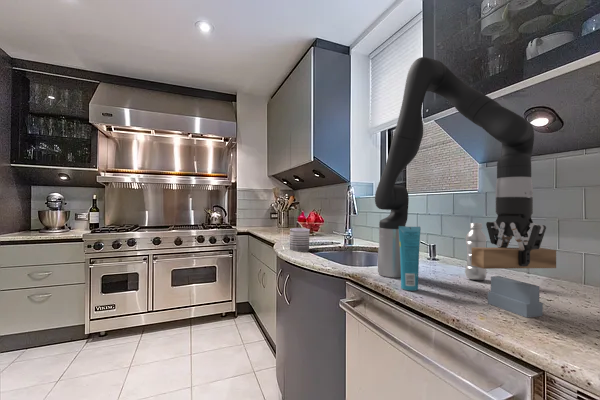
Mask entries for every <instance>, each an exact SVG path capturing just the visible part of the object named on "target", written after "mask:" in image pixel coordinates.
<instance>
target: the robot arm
mask: <svg viewBox="0 0 600 400" xmlns="http://www.w3.org/2000/svg"><path fill="white" fill-rule="evenodd" d="M427 92H431V93H433V94H435V95H438V96H441V97H443V98H445V99H446V100H448V102H449V103H450V104H451V105H453V107H454V108H455V109H456V111H457V112H459V113H460V114H461V115H462V116H463V117H465V118H466V119H468V120H469V121H470V122H472V123H473V124H475V125H476V126H478V127H480V128H481V129H483V130H484V131H485V132H486V133H488V134H489V135H490V136H491V137H493V138H494V139H496V140H497V141H498V142H499V143H501V156H500V157H498V159H497V163H496V182H495V214H496V216H497V218H496V219H495V221H487V222H486V223H485V224H486V225H485V226H486V229H487V232H488V236H489V240H490V243H491V245H494V246H497V248H509V246H510V245H509V244H510V241H511V240H512V239H513V237H514V239H515V241H516V242H517V245H518V248H519V249H520V250H521V251H519V266H528V264H530V251H531V250H534V249H539V248H541V246H542V245H541V244H542V242H543V239H544V235H545V233H546V230H547V226H546V225H544V224H538V223H535V222H534V221H533V219H532V215H533V213H534V211H533V210H534V207H533V206H534V202H533V201H534V197H533V196H534V192H533V191H534V187H533V186H534V185H533V181H532V154H533V149H534V142H535V129H534V127H533V125H532V123H531V122H529V121H528V120H527V119H526V118H524V117H523V116H521V115H520V114H518V113H516V112H514V111H512V110H510V109H508V108H506V107H504V106H502V105H501V104H500V103H499V102H497V101H495V100H494V99H493V98H491V97H489V96H488V95H486V94H484V93H482V92H481V91H479V90H477V89H475V88H474V87H472V86H471V85H469V84H467V83H466V82H464V81H463V80H461V79H460V78H459V77H458V76H456V74H454V73H453V72H452V71H451V70H450V68H448V67H447V66H446V65H445V64H444V63H443V62H442V61H440V60H437V59H435V58H430V57H426V56H421V57H419V58H417V59H415V60H414V61H413V63H412V64H411V65H410V67H409V69H408V71H407V75H406V79H405V85H404V90H403V98H402V102H401V106H400V111H399V113H398V114H399V115H398V118H397V123H396V126H395V130H394V133H393V136H392V140H391V144H390V148H389V153H388V156H387V159H386V163H385V165H384V169H383V172H382V174H381V176H380V180H379V182H378V184H377V187H376V191H375V196H374V203H375V206H376V208H377V209H379V210H382V211H383V210H386V211H387V210H388V211H390V213H389V215H388V216H387V217H385V218H382V219H381V220H379V224H378V225H379V227H378V228H379V229H378V230H379V232H378V236H379V237H378V248H377V251H378V252H377V273H378V275H380V276H383V277H388V278H396V279H397V278H399V279H400V278H401V263H400V241H399V226H406V225H407V222H408V217H409V216H408V215H409V214H408V213H409V203H410V202H409V200H410V199H409V198H410V197H409V191H408V190H407V188H406V186H403V185H397V184H396V182H397V180H398V177H400V174H402V172H403V170H405V168H406V167H407V166H408V165H409V164H410V163H411V162H412V161H413V160H414V159H415V157H416V156H417V155H418V152H419V149H420V147H421V143H422V140H423V137H424V121H423V105H424V101H425V97H426V93H427ZM529 231H530V233H529Z"/></svg>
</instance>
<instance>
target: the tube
mask: <svg viewBox="0 0 600 400" xmlns="http://www.w3.org/2000/svg"><path fill="white" fill-rule="evenodd" d="M399 241H400V263H401V277H400V285H401V286H400V288H401V290H405V291H413V292H414V291H419V274H420V273H419V268H420V266H419V265H420V242H421V226H406V225H405V226H399Z"/></svg>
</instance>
